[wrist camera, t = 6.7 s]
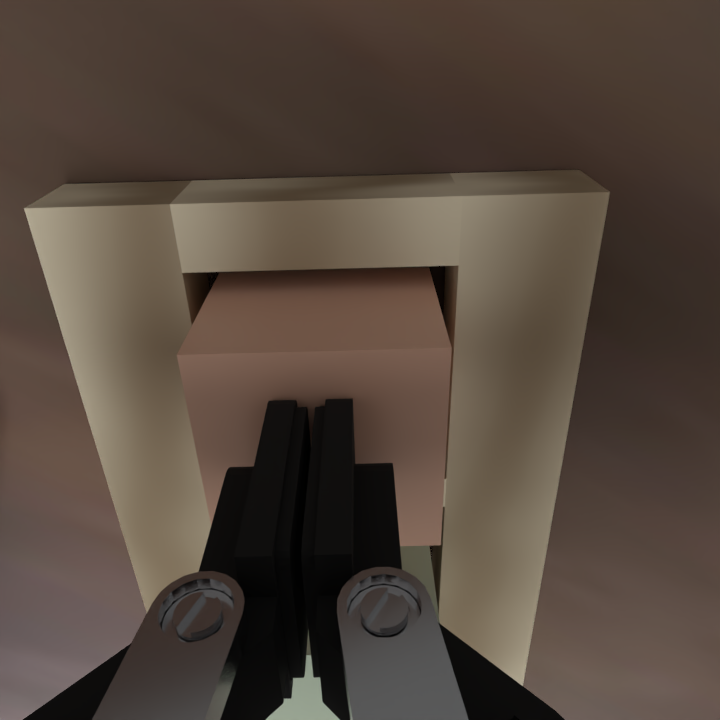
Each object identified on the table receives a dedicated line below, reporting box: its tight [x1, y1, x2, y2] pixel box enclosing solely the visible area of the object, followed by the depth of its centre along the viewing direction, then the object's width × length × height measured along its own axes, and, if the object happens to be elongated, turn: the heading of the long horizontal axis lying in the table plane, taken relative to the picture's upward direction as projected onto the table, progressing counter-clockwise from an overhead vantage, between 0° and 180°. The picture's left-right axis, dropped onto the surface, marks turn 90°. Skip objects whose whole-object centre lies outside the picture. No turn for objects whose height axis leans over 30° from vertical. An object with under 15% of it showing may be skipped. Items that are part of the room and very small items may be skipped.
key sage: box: [266, 546, 440, 720], centre depth 17 cm, size 5×5×4 cm
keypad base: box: [24, 170, 610, 686], centre depth 19 cm, size 12×23×2 cm, turn 2°
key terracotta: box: [177, 267, 452, 546], centre depth 14 cm, size 5×5×4 cm
